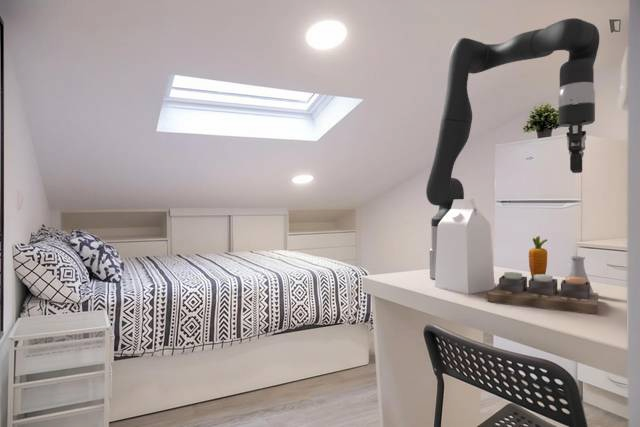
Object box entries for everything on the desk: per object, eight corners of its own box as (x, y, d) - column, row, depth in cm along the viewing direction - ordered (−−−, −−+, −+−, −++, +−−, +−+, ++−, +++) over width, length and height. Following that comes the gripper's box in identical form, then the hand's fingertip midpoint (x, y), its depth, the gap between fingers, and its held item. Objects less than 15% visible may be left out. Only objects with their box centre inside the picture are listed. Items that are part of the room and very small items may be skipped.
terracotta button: (564, 286, 100) (564, 278, 100) (566, 283, 103) (566, 276, 103) (585, 287, 98) (585, 280, 97) (586, 284, 101) (586, 277, 101)
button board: (487, 301, 104) (487, 281, 103) (498, 291, 115) (498, 273, 115) (597, 314, 91) (597, 291, 90) (598, 300, 102) (598, 280, 102)
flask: (599, 294, 110) (598, 256, 109) (587, 298, 105) (587, 259, 105) (569, 289, 115) (569, 254, 115) (557, 293, 111) (557, 256, 111)
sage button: (502, 280, 108) (502, 274, 108) (506, 278, 111) (506, 271, 111) (520, 282, 105) (520, 275, 105) (523, 279, 109) (523, 272, 109)
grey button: (532, 283, 104) (532, 276, 104) (535, 280, 107) (535, 273, 107) (551, 285, 101) (551, 277, 101) (553, 282, 105) (553, 275, 105)
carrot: (534, 284, 123) (534, 234, 122) (551, 287, 119) (551, 235, 118) (525, 287, 120) (524, 235, 120) (542, 289, 116) (541, 236, 116)
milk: (494, 288, 118) (494, 198, 118) (467, 294, 112) (466, 199, 112) (461, 282, 129) (460, 199, 128) (434, 286, 123) (433, 199, 122)
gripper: (560, 112, 108) (560, 174, 108) (556, 101, 96) (556, 171, 96) (595, 108, 103) (595, 172, 104) (594, 96, 92) (594, 169, 92)
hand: (576, 171), depth 100 cm, fingers open, 8 cm apart
